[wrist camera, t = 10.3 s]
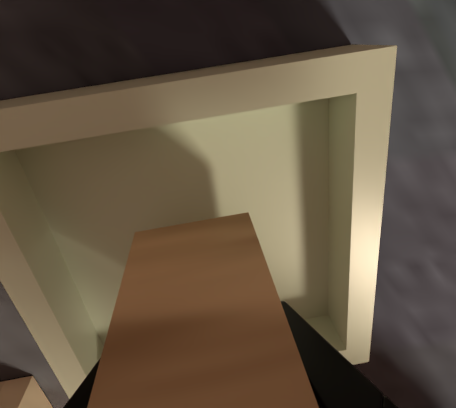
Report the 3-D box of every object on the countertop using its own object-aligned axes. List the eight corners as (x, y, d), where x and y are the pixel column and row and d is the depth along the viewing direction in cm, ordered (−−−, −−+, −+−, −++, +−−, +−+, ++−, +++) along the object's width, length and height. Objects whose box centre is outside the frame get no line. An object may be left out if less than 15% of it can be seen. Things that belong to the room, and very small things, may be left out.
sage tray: (343, 317, 16) (369, 361, 14) (96, 364, 15) (81, 418, 13) (352, 44, 10) (396, 45, 8) (-30, 105, 10) (-92, 123, 8)
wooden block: (259, 297, 12) (364, 672, 5) (161, 316, 12) (122, 728, 5) (248, 211, 10) (383, 586, 3) (134, 232, 10) (15, 669, 3)
